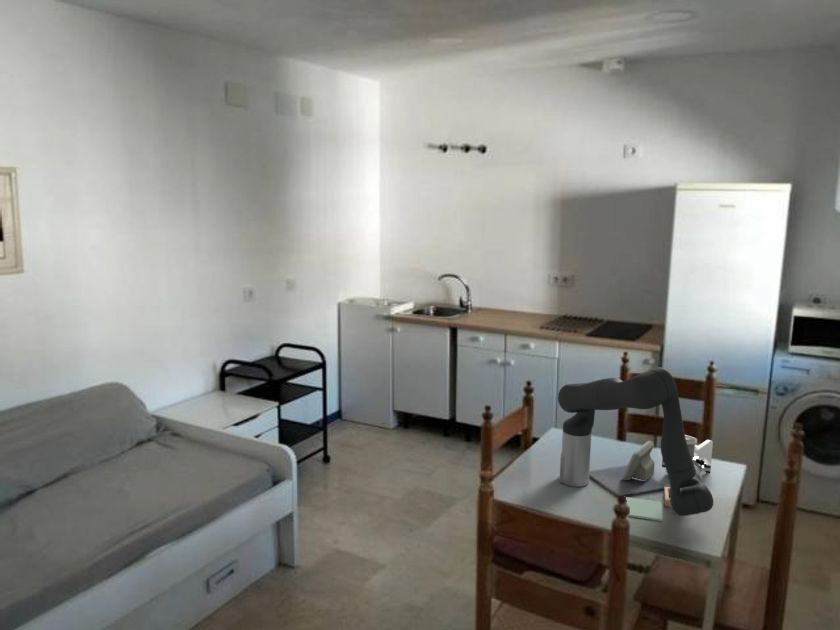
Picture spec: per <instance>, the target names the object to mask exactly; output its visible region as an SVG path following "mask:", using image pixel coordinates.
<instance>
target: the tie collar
mask: <svg viewBox="0 0 840 630" xmlns="http://www.w3.org/2000/svg"><path fill="white" fill-rule="evenodd" d="M663 493H664V494H663V495H664V496H663V497H664V506H665V507H671V501H670V497H669V496H670V486H664V489H663Z"/></svg>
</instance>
